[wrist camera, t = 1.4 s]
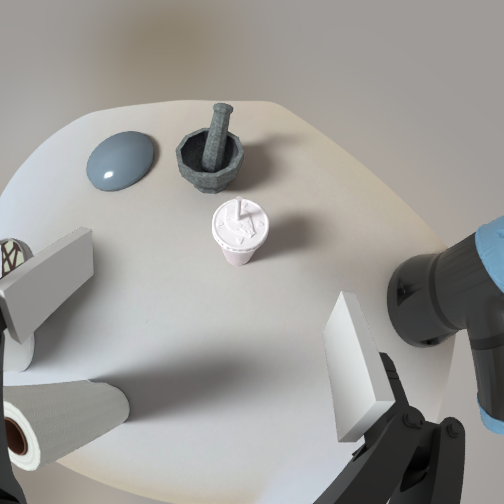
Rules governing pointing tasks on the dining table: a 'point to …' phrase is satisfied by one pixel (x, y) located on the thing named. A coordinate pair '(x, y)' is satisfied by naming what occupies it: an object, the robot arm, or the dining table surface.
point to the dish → (120, 161)
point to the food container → (13, 254)
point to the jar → (17, 353)
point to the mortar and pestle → (211, 153)
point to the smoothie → (240, 229)
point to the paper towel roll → (58, 419)
